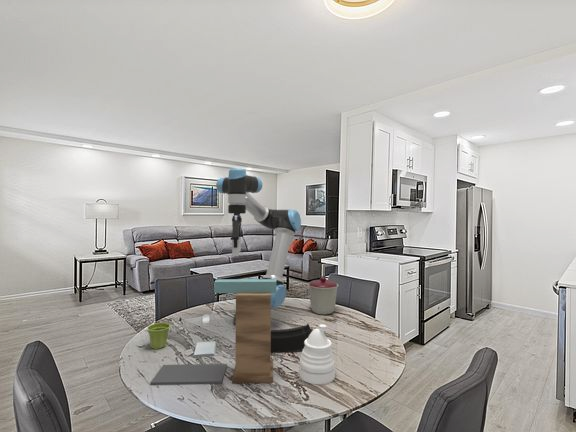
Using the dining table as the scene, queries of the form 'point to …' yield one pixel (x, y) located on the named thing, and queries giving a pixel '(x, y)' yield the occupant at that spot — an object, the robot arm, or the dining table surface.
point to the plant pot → (158, 334)
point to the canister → (323, 295)
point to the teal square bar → (245, 286)
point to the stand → (253, 339)
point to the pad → (190, 374)
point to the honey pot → (317, 358)
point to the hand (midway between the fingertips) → (236, 253)
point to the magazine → (289, 339)
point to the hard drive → (205, 349)
